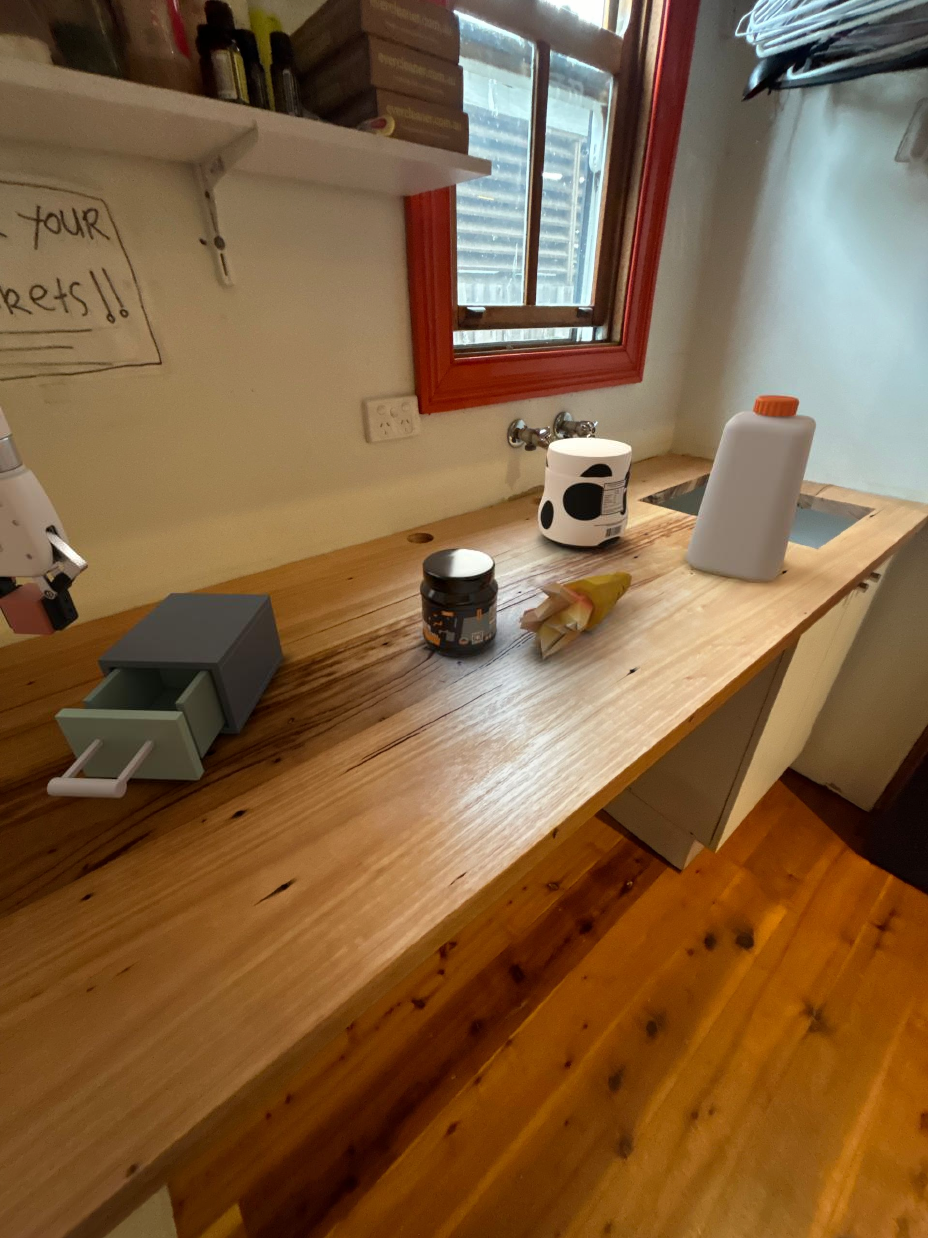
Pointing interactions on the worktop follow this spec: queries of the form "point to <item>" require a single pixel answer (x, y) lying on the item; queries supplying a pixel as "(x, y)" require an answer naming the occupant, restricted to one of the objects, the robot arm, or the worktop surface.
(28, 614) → the block
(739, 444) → the plastic bottle
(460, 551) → the supplement container
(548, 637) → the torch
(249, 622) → the cabinet
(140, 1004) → the worktop surface
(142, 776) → the drawer
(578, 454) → the milk container
